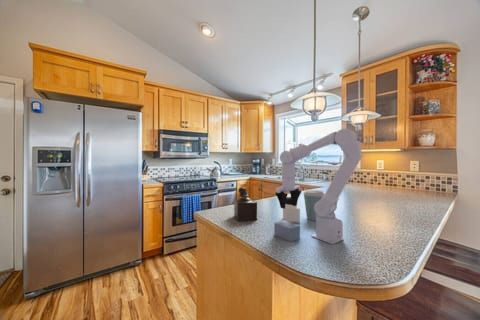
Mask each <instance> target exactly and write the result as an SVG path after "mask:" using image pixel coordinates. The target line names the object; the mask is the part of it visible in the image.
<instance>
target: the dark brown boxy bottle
mask: <svg viewBox="0 0 480 320" xmlns="http://www.w3.org/2000/svg"><path fill="white" fill-rule="evenodd" d="M247 189H248V188H247V187H244V186H243V187H242V186H241V187H239V188H238V190H237V191H238V193H239V197H238V198H237V199H235V198H234V199H233V200H234V201H233V205H234V207H233V209H234V210H233V211H234V214H233V217H234V218H235V220H236V221H237V222H249V221H251V222H252V221H257V220H258V218H257V217H258V202H257V201H255V200H254V199H253V198H250V197H249V195H250V194H249V193H248V191H247Z"/></svg>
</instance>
